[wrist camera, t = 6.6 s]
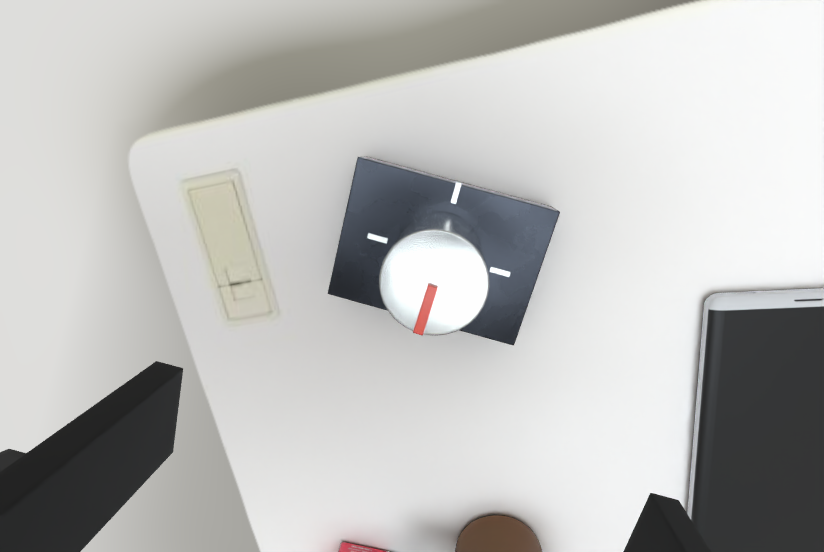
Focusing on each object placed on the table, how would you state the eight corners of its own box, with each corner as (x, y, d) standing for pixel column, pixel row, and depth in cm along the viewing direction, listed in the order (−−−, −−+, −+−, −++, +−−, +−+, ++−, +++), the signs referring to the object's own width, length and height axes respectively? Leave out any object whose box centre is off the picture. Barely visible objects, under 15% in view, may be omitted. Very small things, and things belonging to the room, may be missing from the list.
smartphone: (677, 585, 42) (686, 603, 40) (699, 291, 35) (712, 298, 33) (842, 588, 40) (859, 607, 39) (899, 281, 34) (922, 288, 32)
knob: (409, 200, 32) (394, 216, 25) (494, 226, 32) (505, 249, 25) (385, 281, 34) (365, 319, 26) (466, 306, 34) (469, 351, 26)
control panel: (337, 284, 37) (326, 295, 34) (366, 154, 35) (357, 155, 32) (509, 331, 37) (513, 347, 34) (552, 205, 34) (561, 210, 31)
